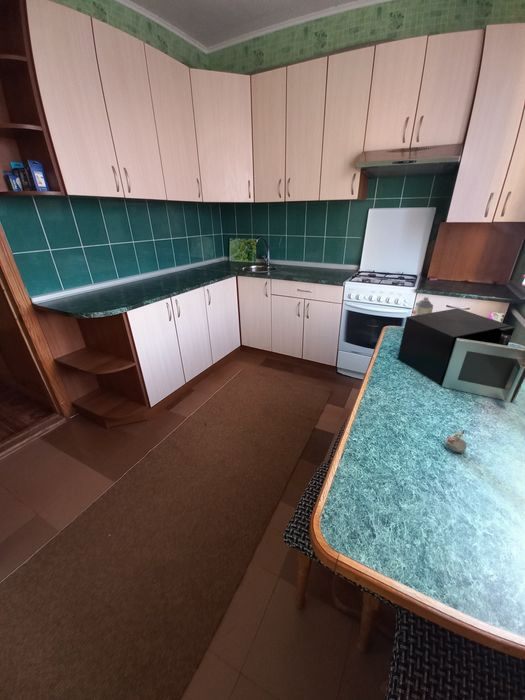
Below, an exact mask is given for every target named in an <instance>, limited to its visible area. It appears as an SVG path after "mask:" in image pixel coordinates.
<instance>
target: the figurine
mask: <svg viewBox="0 0 525 700" xmlns="http://www.w3.org/2000/svg"><path fill="white" fill-rule="evenodd" d="M464 433H465V430H464V429H462V430H461V431H460V432H458V431H456V433H454V434H451V435H450V436H448V437H447V438H446V439H445V442H444V443H445V447H446V448H448V449H450V450H451V451H453V452H455V453H458V454H459V453H460V454H464V453H465V452H466V450H467V447H468V445H467V443H466V441H465V440H464V439H462V435H464Z"/></svg>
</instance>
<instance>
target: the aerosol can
mask: <svg viewBox="0 0 525 700" xmlns="http://www.w3.org/2000/svg"><path fill="white" fill-rule="evenodd" d="M433 308H434V304H432V302H431V301H430V299H429V296H424V297H423V299H421V300H419V301H418V302H416V303H415V306H414V309H413V313H412V316H415V315H421V314H427V313H433Z"/></svg>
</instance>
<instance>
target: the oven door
mask: <svg viewBox="0 0 525 700" xmlns="http://www.w3.org/2000/svg"><path fill="white" fill-rule="evenodd" d="M524 381H525V347H519V346H512V345H508V346H507V345H500V344H493V343H487V342H480V341H473V340H467V339H460V338H456V341H455V345H454V348H453V351H452V354H451V357H450V361H449V364H448V367H447V370H446V373H445V376H444V380H443V383H442V384H441V387H442V388H446V389H451V390H456V391H459V392H460V391H461V392H465V393H468V394H475V395H480V396H483V397H489V398H493V399H498V400H502V401H505V402H507V403H509V404H513V403H514V402H515V401H516V398H517V396H518V394H519V392H520V389H521V387H522V385H523V384H524Z"/></svg>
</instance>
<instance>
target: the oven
mask: <svg viewBox="0 0 525 700" xmlns="http://www.w3.org/2000/svg"><path fill="white" fill-rule="evenodd" d="M515 329H516V328H515V326H511V325H510V324H507V323H504V322H502V323H501V322H498V321H495V320H492V319H489V318H487V317H486V316H482V315H480V314H476V313H473V312H470V311H468V310H464V309H462V308H450V309H446V310H439V311H432V313H427V314H421V315H415V316H413V315H410V316H406V317H405V322H404V327H403V331H402V335H401V339H400V344H399V350H398V354H397V360H398V361H401V362H402V363H404V364H405V365H407V366H408V367H410V368H411V369H413V370H414V371H417V372H418V373H420V374H422V375H423V376H425V377H426V378H428V379H429V380H431V381H433V382H435V383H436V384H438V385H442V383H443V380H444V376H445V373H446V370H447V367H448V364H449V361H450V357H451V354H452V351H453V348H454V345H455V341H456V338H460V339H467V340H473V341H480V342H487V343H493V344H500V345H507V346H509V343H510V341H511V339H512V337H513V334H514V331H515Z"/></svg>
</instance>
